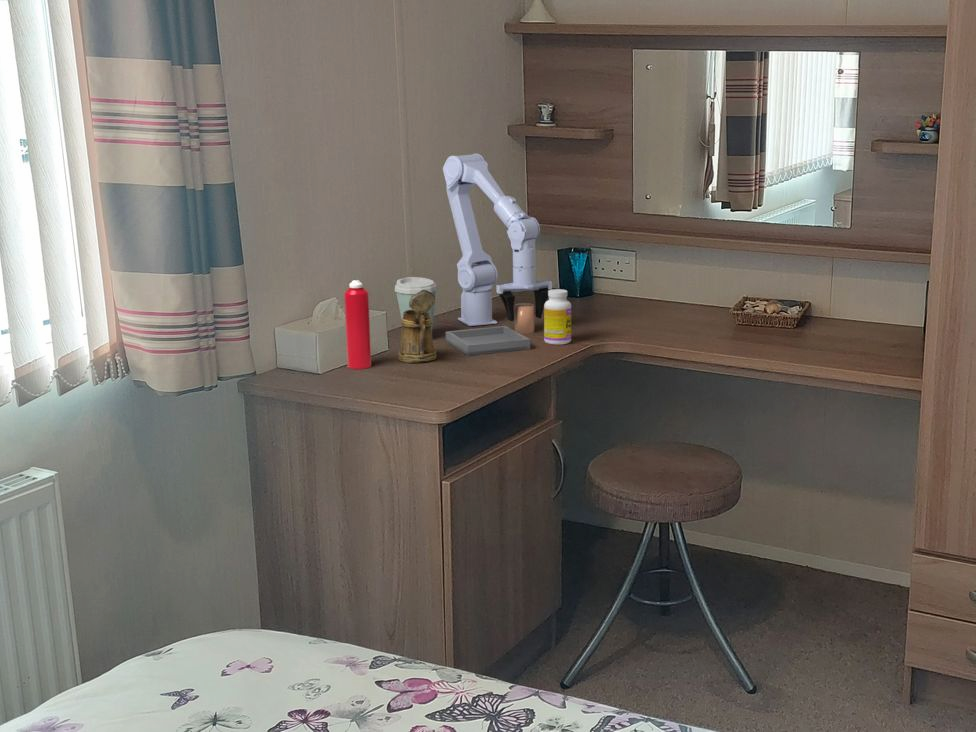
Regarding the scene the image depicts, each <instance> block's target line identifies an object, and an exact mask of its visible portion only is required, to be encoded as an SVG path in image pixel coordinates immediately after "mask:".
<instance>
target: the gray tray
mask: <svg viewBox="0 0 976 732" xmlns="http://www.w3.org/2000/svg"><path fill="white" fill-rule="evenodd" d="M445 342H446V343H447V344H449V345H451V346H452V347H454V348H455V349H457V350H458V351H460V352H461V353H463V354H465V355H466V356H467V357H469V356H470V357H471V356H478V355H479V356H480V355H488V354H498V353H507V352H515V351H517V352H518V351H526V350H527V351H528V350H531V338H530V337H527V336H526V335H525V334H520V333H518V332H516V331H515V329H512V328H510V327H509V326H507V325H500V326H490V327H482V328H481V327H479V328H469V329H460V330H449V331H445Z"/></svg>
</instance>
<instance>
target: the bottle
mask: <svg viewBox="0 0 976 732" xmlns="http://www.w3.org/2000/svg"><path fill="white" fill-rule="evenodd" d="M348 285H349V288H347V289H346V290H345V291H344V294H343V296H344V297H343V299H344V317H345V338H346V339H345V340H346V341H345V342H346V357H347V358H346V359H347V361H346V362H347V368H349V369H351V370H365V369H369V368H371V367H372V347H371V345H372V344H371V343H372V342H371V326H370V325H371V322H370V299H369V296H370V294H369V291H368V289H366V288H364V287H363V283H362V282H361V281H360V280H359V279H353V280H352V281H351V282H350V283H349V284H348Z"/></svg>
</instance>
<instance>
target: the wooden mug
mask: <svg viewBox="0 0 976 732" xmlns="http://www.w3.org/2000/svg"><path fill="white" fill-rule="evenodd" d="M435 302H436V295H435V296H434V294H432V293H431V292H429V291H426V290H422V291H420V292H418V293H416V294H415V295H414V296H412V297H411V299H410V301H409V307H410V308H411V309H412V310H406V311H404V312H403V318H402V319H401V323H400V324H401V333H400V342H399V343H400V344H399V350H398V352H397V361H400V362H402V363H406V364H407V363H408V364H422V363H423V364H424V363H428V362H429V363H430V362H433V361H435V360H436V358H437V352H436V349H435V348H434V347H435V346H434V340H433V334H432V333H433V331H432V332H431V325H432V321H431V318H430V316H429V312H428V311H429V310H430V309H431V308H432V307H433V305H434V303H435ZM434 306H435V305H434Z"/></svg>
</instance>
